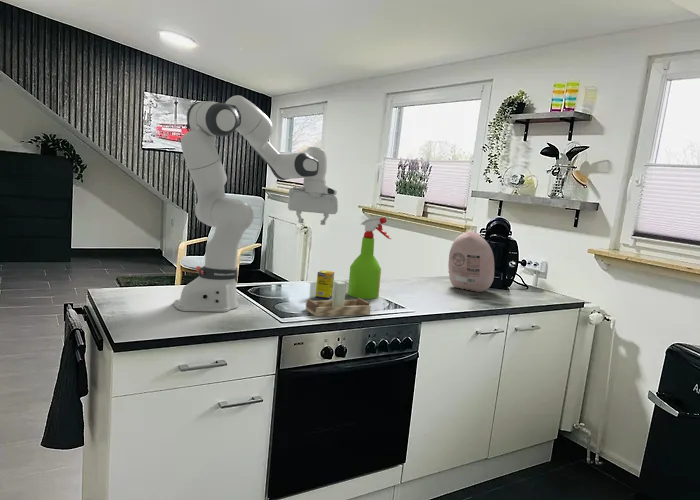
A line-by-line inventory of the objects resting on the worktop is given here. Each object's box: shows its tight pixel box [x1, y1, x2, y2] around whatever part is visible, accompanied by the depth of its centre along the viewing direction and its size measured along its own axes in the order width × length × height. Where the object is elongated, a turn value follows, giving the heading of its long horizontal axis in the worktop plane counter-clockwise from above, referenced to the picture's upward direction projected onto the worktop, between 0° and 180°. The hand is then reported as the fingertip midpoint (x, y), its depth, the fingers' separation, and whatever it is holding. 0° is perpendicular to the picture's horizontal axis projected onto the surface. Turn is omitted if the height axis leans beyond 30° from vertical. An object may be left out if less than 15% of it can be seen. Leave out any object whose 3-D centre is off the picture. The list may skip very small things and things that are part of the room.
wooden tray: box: [305, 298, 371, 317], centre depth 194 cm, size 22×10×4 cm, turn 118°
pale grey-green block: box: [332, 280, 347, 307], centre depth 194 cm, size 3×4×10 cm
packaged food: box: [447, 231, 496, 293], centre depth 261 cm, size 22×20×30 cm
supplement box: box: [315, 269, 335, 300], centre depth 216 cm, size 6×6×11 cm
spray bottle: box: [347, 216, 393, 300], centre depth 225 cm, size 14×18×35 cm
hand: (312, 224), depth 207 cm, fingers open, 8 cm apart
